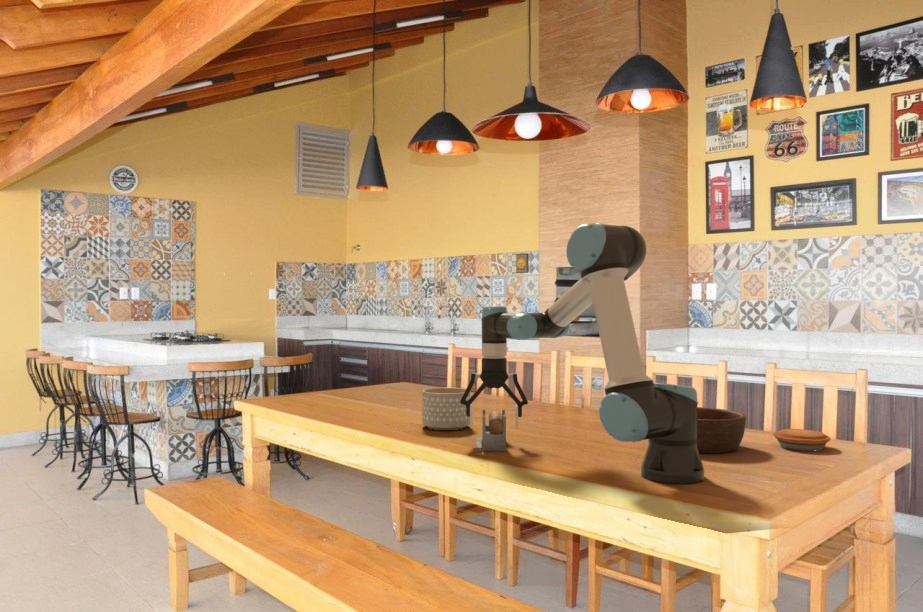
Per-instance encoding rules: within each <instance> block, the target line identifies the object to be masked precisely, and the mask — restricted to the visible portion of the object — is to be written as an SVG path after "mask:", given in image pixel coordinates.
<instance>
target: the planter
mask: <svg viewBox="0 0 923 612" xmlns="http://www.w3.org/2000/svg"><path fill="white" fill-rule="evenodd" d="M466 389H467V388H462V387H431V388H425V389H424V388H423V389H422V392H421V393H422V395H421V397H422V398H421V399H422V407H421V408H422V409H421V410H422V411H421V414H422V415H421V416H422V426H425V427H426V428H427V427H428V428H429V430H432V429H434V430H433V431H440V430H453V431H459V430H458V429H461V430H464V429H465V428H466V427H467V426H470V417H467V416H466V405H464V404H461V403H460V401H461V398H462V396H463V394H464V393H465V391H466ZM470 398H471V391H470V392H469V394H468V396H467V398H466V400H467V401H468V400H469V399H470ZM428 428H427V429H428ZM463 428H464V429H463Z"/></svg>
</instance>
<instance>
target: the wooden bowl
mask: <svg viewBox="0 0 923 612" xmlns="http://www.w3.org/2000/svg"><path fill="white" fill-rule="evenodd" d="M746 424H747V416H746V415H745V413H741V412H738V411H736V410H735V411H734V410H729V409H724V408H713V407H698V406H697V449H698V452H699V454H700V453H701V454H727V453H732V452H734V451H736V450H737V449H739V447H740V445H741V443H742V440H743V439H744V435H745V431H746Z"/></svg>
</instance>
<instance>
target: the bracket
mask: <svg viewBox="0 0 923 612" xmlns="http://www.w3.org/2000/svg"><path fill="white" fill-rule="evenodd" d="M501 416H502V424H503V430H502V432H501V433H500V434H498V435H494V434H492V433H491V432H490V430H489V423H486V407H482V428H481V429H482V435H481V434H480V435H479V434H478V435H476V441H475V453H482V452H506V451H507V415H506V408H501Z"/></svg>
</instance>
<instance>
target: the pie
mask: <svg viewBox="0 0 923 612" xmlns="http://www.w3.org/2000/svg"><path fill="white" fill-rule="evenodd" d="M772 435H773V436H774V438H775V439H777V442H778V443H779V445H780V447H781V448H783V447H785V448H784V449H786V448H788V449H787V450H791V449H794V450H793V451H798V450H801V452H815V451H814V450H820V451H822V450H824V448H825V447H826V445H827V443H828V442H829V441H831V437H830V436H828V435H826V434H825V433H824V432H821V431H817V430H812V429H802V428H784V429H780V430H777V431H775V432H773V433H772ZM821 449H822V450H821Z"/></svg>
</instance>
